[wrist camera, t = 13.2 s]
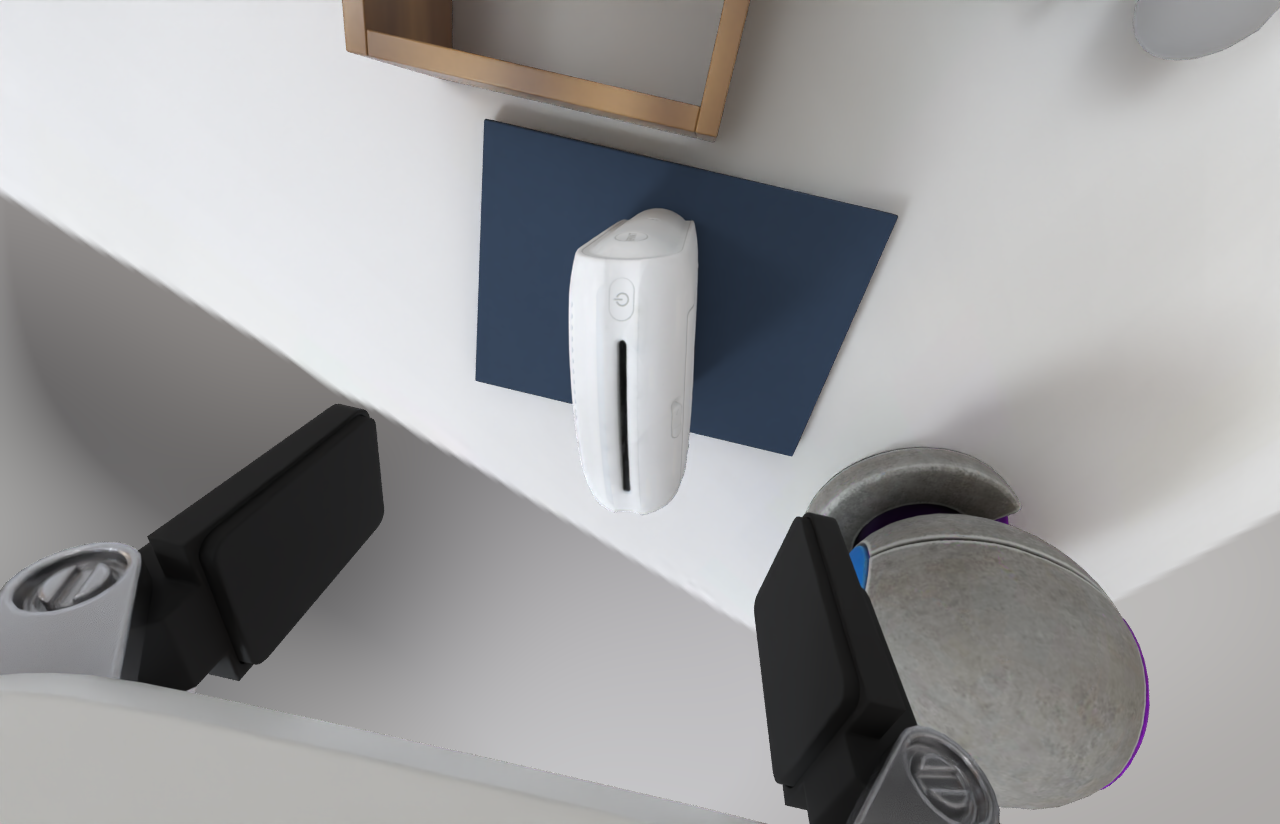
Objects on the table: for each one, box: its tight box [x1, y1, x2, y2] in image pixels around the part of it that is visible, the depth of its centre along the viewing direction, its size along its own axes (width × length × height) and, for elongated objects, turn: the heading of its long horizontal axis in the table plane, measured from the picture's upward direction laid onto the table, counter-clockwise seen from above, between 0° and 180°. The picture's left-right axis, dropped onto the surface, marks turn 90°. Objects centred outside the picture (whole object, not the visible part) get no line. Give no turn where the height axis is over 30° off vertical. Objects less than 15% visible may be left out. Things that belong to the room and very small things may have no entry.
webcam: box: [806, 448, 1150, 810], centre depth 25 cm, size 13×13×15 cm
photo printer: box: [569, 208, 699, 515], centre depth 20 cm, size 10×4×12 cm, turn 0°
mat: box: [476, 119, 898, 456], centre depth 26 cm, size 20×14×1 cm
